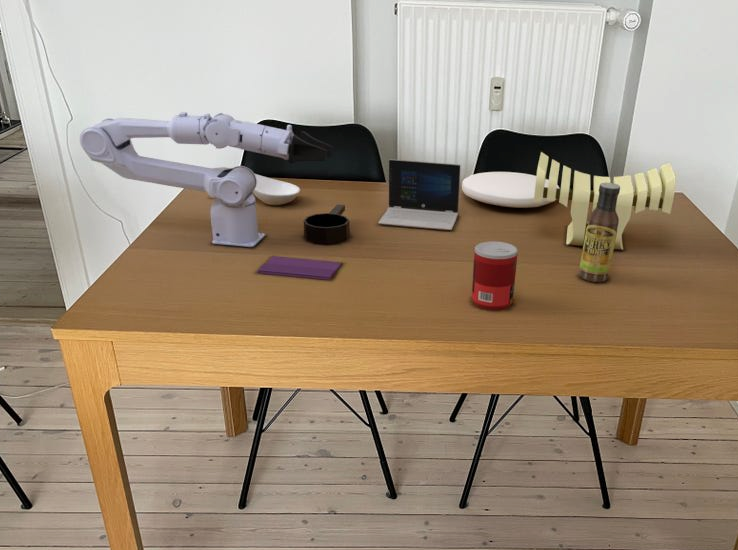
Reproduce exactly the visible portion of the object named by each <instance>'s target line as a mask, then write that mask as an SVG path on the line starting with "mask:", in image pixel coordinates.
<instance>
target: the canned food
mask: <svg viewBox="0 0 738 550" xmlns="http://www.w3.org/2000/svg"><path fill="white" fill-rule="evenodd" d="M473 252H474V254H473V266H472V267H473V269H472V270H473V271H472V285H471V286H472V287H471V300H472V303H473V304H474V305H475V306H476V307H478V308H480V309H483V310H489V311H501V310H505V309H507V308H509V307H511V305H512V303H513V301H514V294H515V283H516V274H517V263H518V248H517V247H516V246H515V245H513V244H510V243H507V242H503V241H483V242H480V243H478V244H476V245H475V247H474V251H473Z"/></svg>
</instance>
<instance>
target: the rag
mask: <svg viewBox="0 0 738 550" xmlns="http://www.w3.org/2000/svg"><path fill="white" fill-rule="evenodd" d="M342 264H343V263H342V262H339V261H327V260H320V259H319V260H318V259H307V258H296V257H287V256H276V255H275V256H274V255H273V256H271V258H269V260H267V262H264V263H263V264H262V265H261V267H259V268H258V269H257V274H261V275H271V276H282V277H292V278H302V279H312V280H313V279H314V280H324V281H330V280H331V279H332V278H333V276H334V275H335V274H336V272H337V271H338V270H339V268H340V266H341V265H342Z"/></svg>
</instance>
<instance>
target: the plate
mask: <svg viewBox="0 0 738 550" xmlns="http://www.w3.org/2000/svg"><path fill="white" fill-rule="evenodd" d="M536 176H537V175H534V174H529V173H524V172H523V173H522V172H516V171H515V172H512V171H488V172H479V173H475V174H471V175H469V176H467V177H465V178H464V179H463V180H462V182H461V190H462V193H463V194H464V195H465V196H466V197H468V198H470V199H472V200H475V201H477V202H480V203H484V204H489V205H494V206H500V207H506V208H518V209H519V208H523V209H524V208H525V209H527V208H538V207H542V206H545V205H549V204H550V203H553V202H554V201H547V198H543V200H542V201H536V202H534V195H535V185H536ZM548 183H549V178H545V186H544V187H547V188H548ZM557 188H558V189H561V187H560V186H559V185H558V184H557ZM556 200H557V199H555V201H556Z"/></svg>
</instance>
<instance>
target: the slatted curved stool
mask: <svg viewBox="0 0 738 550" xmlns="http://www.w3.org/2000/svg"><path fill="white" fill-rule="evenodd" d="M548 165H549V156H548V155H547V154H545V153H544V152H543V151H540V155H539V160H538V164H537V169H536V175H535V176H536V185H535V195H534V202H536V201H542V200H543V198H547V201H553V202H556V200H558V203H559V204H561V205H563V206H564V207H566V208H568V203H569V201H570V202H571V203H570V214H569V215H570V217H571V221H570V223H569V224H568V226H567V227H566V228H567V229H566V242H565V243H566V245H567V246H580V247H583V246H584V240H585V234H586V228H587V226H588V214H589V213H588V212H589V207H590V203H591V209H590V214H591V213H592V212H593V210H594V209H595V208H596V207H597V202H598V197H599V186H600V184H601V183H611V176H599V175H593V184H592V185H593V187H592V188H593V191H591V174H588V173H584V172H581V171H579V170H574V173H573V183H572V184H573V185H572V186H573V187H572V189H570V188H571V187H570V186H571V174H572V168H570V167H568V166H567V165H563V168H562V173H561V175H562V176H561V181H560V182H561V184H560V189H558V188H557V185H558V180H559V171H560V162H558V161H557V160H555V159H553V158H552V159H551V164H550V169H549V170H550V171H549V176H548V180H549V183H548V188H547V187H544V186H545V179H547V170H548ZM676 179H677V178H676V175H675V172H674V169H673V166H672V164H671V162H667V163H665V164H662V165H661V166H660V169H659V171H658V169H657V167H654V168H651V169H650V170H647V172H646V177H645V174H644V171H643V172H638V173H635V174H634V176H633V179H632V175H631V174H628V175H624V176H623V175H622V176H621V175H620V176H613V180H612V183H615V184H618V185H619V186H620V192H619V194H618V197H617V203H616V209H615V210H616V213H617V215H618V218H619V223H618V227H617V235H616V240H615V245H614V250H620V251H621V250H622V251H623V250H624V245H623V233H624V230H625V228H626V226H627V225H628V223H629V221H630V220H631V214H632V208H633V210H634V214H638V213H640V212H643V211H645V210H646V208H648V210H649V211H659V209H660V210H661V213H666V214H668V215H671V213H672V209H673V208H672V207H673V203H674V199H675V198H674V197H675V193H676V183H677V180H676ZM632 180H633V181H632ZM633 184H634V187H633ZM555 199H556V200H555Z"/></svg>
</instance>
